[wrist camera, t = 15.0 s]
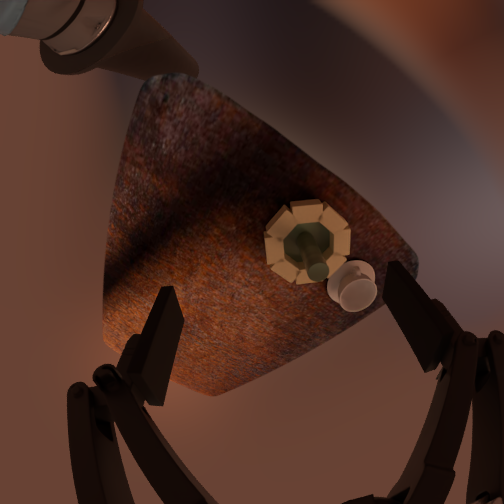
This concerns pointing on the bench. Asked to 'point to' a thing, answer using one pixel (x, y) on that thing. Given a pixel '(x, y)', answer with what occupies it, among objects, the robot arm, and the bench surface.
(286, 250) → the stand
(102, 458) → the robot arm
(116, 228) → the bench surface
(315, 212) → the ring of blocks
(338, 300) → the teacup
